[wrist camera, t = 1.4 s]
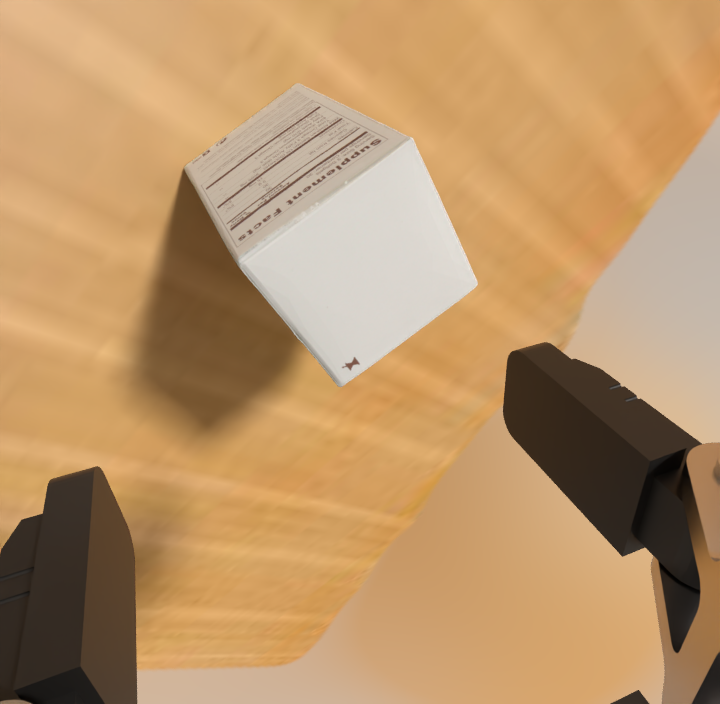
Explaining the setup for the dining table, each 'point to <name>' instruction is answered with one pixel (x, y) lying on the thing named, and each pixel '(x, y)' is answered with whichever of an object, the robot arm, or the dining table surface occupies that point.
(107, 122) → the dining table surface
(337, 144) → the supplement box
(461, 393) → the dining table surface
